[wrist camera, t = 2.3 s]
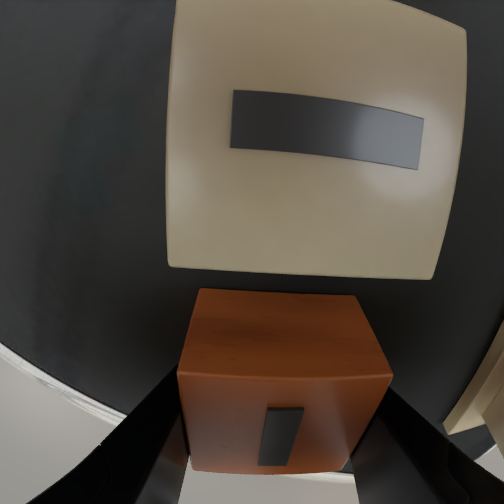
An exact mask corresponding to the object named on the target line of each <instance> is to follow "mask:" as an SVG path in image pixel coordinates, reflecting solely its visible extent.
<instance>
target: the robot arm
mask: <svg viewBox="0 0 504 504" xmlns="http://www.w3.org/2000/svg"><path fill="white" fill-rule="evenodd" d="M178 365H179V363H178V364H177V365H176V366H175V367H174V368H173V369H172V370H171V371H170V372H169V373H168V374H167V375H166V376H165V377H164V378H163V379H162V380H161V382H160V383H159V384H158V385H157V386H156V387H155V388H154V389H153V390H152V391H151V392H150V393H149V394H148V395H147V396H146V397H145V398H144V399H143V400H142V401H141V402H140V403H139V404H138V405H137V406H136V407H135V409H134V410H133V411H132V412H131V413H130V414H129V415H128V416H127V417H126V418H125V419H124V420H123V421H122V422H121V423H120V424H119V425H118V426H117V427H116V428H115V429H114V430H113V431H112V432H111V433H110V434H109V435H108V436H107V437H106V438H105V439H104V440H103V441H102V442H101V443H100V444H101V446H100V445H98V446H97V447H96V448H95V449H94V450H93V451H92V452H91V453H90V454H89V455H88V456H87V457H86V458H85V459H84V460H83V461H82V462H81V463H79V464H78V465H77V466H76V467H75V468H74V469H72V470H71V471H70V472H69V473H68V474H66V475H65V476H64V477H63V478H61V479H60V480H59V481H57V482H56V483H55V484H53V485H52V486H50V487H49V488H48V489H46V490H45V491H44V492H42V493H41V494H39V495H38V496H36V497H35V498H34V499H32V500H31V501H29V502H28V503H26V504H178V500H179V496H180V492H181V488H182V483H183V479H184V475H185V471H186V467H187V463H188V458H189V449H188V444H187V438H186V432H185V426H184V420H183V414H182V407H181V400H180V393H179V386H178V379H177V369H178ZM350 459H351V464H352V469H353V473H354V478H355V483H356V488H357V493H358V498H359V504H504V482H503V481H501V480H500V479H498V478H497V477H495V476H494V475H493V474H491V473H490V472H488V471H487V470H485V469H484V468H483V467H481V466H480V465H478V464H477V463H476V462H474V461H473V460H472V459H471V458H469V457H468V456H467V455H466V454H465V453H463V452H462V451H461V450H460V449H459V448H458V447H456V446H455V445H454V444H453V443H452V442H450V443H449V440H448V439H447V438H446V437H445V436H444V435H443V434H442V433H440V432H439V431H438V430H437V429H436V428H435V427H434V426H433V425H431V424H430V423H429V422H428V421H427V420H426V419H425V418H424V417H422V416H421V415H420V414H419V413H418V412H417V411H416V410H415V409H413V408H412V407H411V406H410V405H409V404H408V403H407V402H406V401H404V400H403V399H402V398H401V397H400V396H399V395H398V394H397V393H395V392H394V391H393V390H392V389H391V388H390V387H389V386H388V388H387V390H386V393H385V395H384V397H383V398H382V400H381V402H380V404H379V406H378V408H377V410H376V412H375V414H374V416H373V418H372V419H371V421H370V423H369V425H368V427H367V428H366V430H365V432H364V434H363V435H362V437H361V439H360V440H359V442H358V444H357V445H356V447H355V449H354V450H353V452H352V454H351V455H350Z"/></svg>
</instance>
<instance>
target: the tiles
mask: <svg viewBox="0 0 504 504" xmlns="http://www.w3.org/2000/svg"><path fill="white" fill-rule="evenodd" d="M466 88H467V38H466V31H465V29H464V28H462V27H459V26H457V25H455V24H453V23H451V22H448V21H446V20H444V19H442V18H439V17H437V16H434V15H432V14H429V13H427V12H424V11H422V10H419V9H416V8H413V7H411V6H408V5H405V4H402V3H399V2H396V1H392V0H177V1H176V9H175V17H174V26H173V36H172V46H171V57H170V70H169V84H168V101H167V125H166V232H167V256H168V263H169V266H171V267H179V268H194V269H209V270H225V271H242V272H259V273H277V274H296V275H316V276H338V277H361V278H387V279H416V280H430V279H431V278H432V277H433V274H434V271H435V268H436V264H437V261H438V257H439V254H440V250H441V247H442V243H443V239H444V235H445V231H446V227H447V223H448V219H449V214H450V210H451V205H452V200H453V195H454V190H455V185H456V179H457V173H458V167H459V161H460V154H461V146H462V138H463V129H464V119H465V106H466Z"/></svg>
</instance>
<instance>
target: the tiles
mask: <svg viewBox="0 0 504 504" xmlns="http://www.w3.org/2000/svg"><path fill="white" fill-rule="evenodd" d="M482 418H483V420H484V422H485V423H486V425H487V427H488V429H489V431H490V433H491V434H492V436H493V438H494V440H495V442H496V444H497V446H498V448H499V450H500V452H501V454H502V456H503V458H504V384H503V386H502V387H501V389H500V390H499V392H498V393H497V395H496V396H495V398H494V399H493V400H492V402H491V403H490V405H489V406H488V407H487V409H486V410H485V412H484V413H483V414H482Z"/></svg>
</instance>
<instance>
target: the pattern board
mask: <svg viewBox="0 0 504 504" xmlns="http://www.w3.org/2000/svg"><path fill="white" fill-rule="evenodd" d="M503 384H504V320H503V322H502V324H501V326H500V328H499V330H498V332H497V334H496V336H495V338H494V340H493V342H492V344H491V346H490V348H489V350H488V352H487V354H486V356H485V357H484V359H483V361H482V363H481V365H480V366H479V368H478V370H477V372H476V373H475V375H474V377H473V378H472V380H471V382H470V383H469V385H468V386H467V388H466V390H465V391H464V393H463V394H462V396H461V397H460V399H459V400H458V402H457V403H456V405H455V406H454V408H453V409H452V411H451V412H450V414H449V415H448V416H447V418H446V419H445V421H444V422H443V425H444V427H445V429H446V432H447V434H448V435H450V434H454V433H457V432H460V431H464V430H467V429H470V428H473V427H476V426H479V425H482V424H485V422H484V420H483V418H482V414H483V413H484V412H485V410H486V409H487V407H488V406H489V405H490V403H491V402H492V400H493V399H494V398H495V396H496V395H497V393H498V392H499V390H500V389H501V387H502V386H503Z"/></svg>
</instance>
